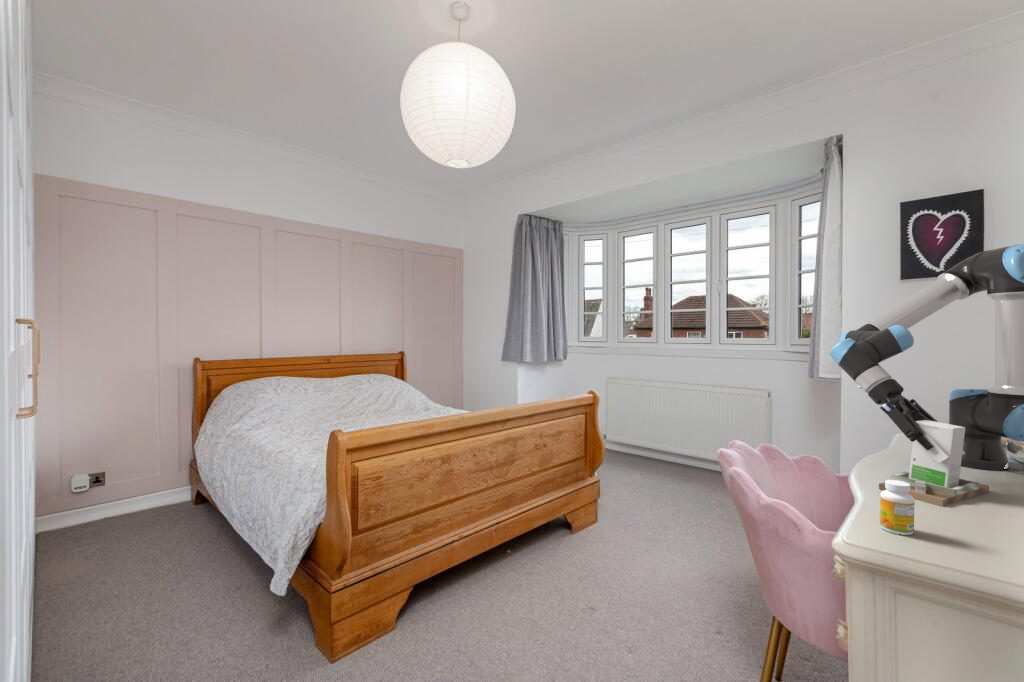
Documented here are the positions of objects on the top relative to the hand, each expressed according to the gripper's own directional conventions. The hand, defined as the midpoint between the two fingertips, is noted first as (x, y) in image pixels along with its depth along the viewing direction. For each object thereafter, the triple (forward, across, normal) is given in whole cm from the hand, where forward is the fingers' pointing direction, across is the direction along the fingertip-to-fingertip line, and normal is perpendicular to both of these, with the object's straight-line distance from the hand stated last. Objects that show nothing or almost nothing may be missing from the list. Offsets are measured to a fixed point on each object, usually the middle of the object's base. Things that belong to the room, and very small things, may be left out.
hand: (952, 458), depth 118 cm
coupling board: (+4, 0, -9) cm, 10 cm away
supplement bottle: (+11, +38, -3) cm, 39 cm away
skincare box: (+3, 0, -8) cm, 9 cm away
